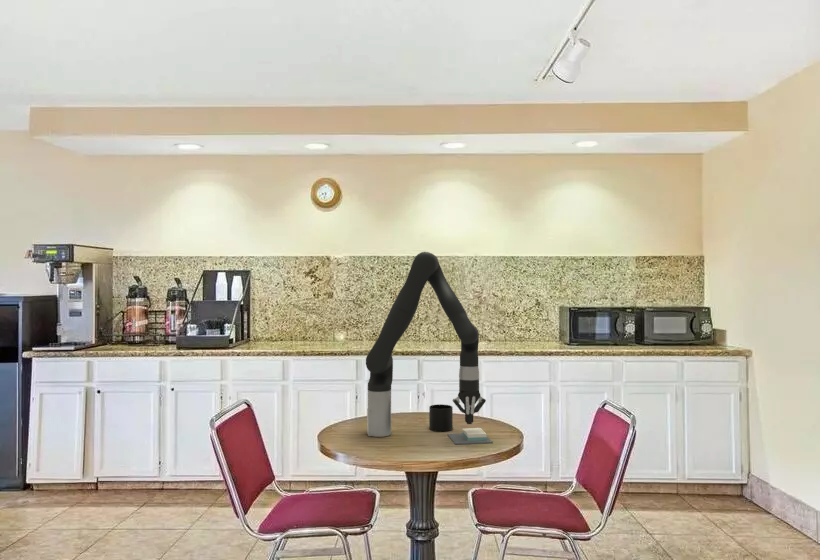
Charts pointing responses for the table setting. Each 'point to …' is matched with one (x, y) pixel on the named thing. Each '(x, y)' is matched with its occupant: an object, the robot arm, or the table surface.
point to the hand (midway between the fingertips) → (469, 423)
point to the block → (474, 434)
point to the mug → (440, 418)
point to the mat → (460, 439)
